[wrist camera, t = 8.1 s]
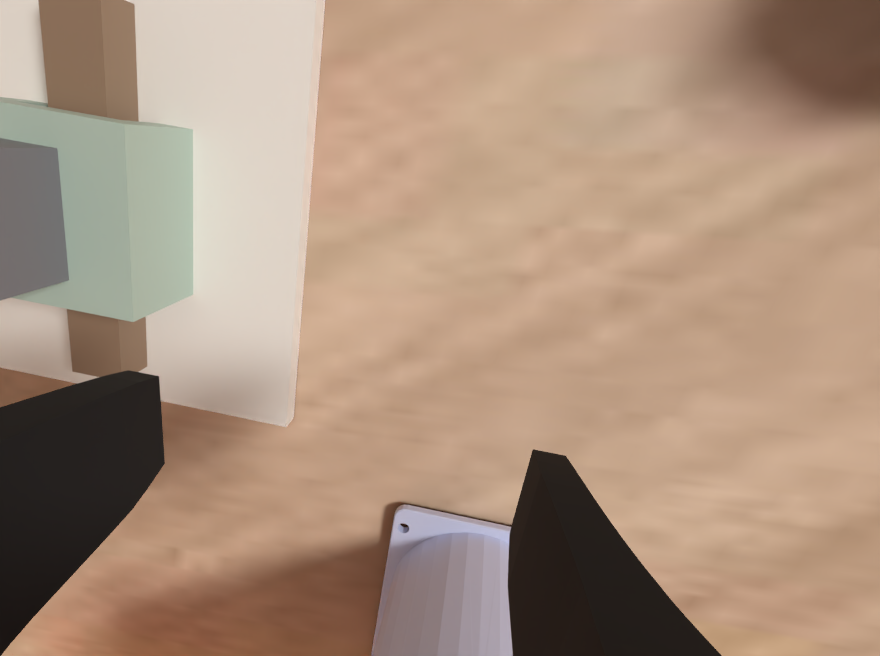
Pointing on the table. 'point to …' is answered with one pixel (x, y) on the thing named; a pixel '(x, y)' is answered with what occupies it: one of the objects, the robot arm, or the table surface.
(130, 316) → the sage slotted block
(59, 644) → the table surface
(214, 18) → the board
